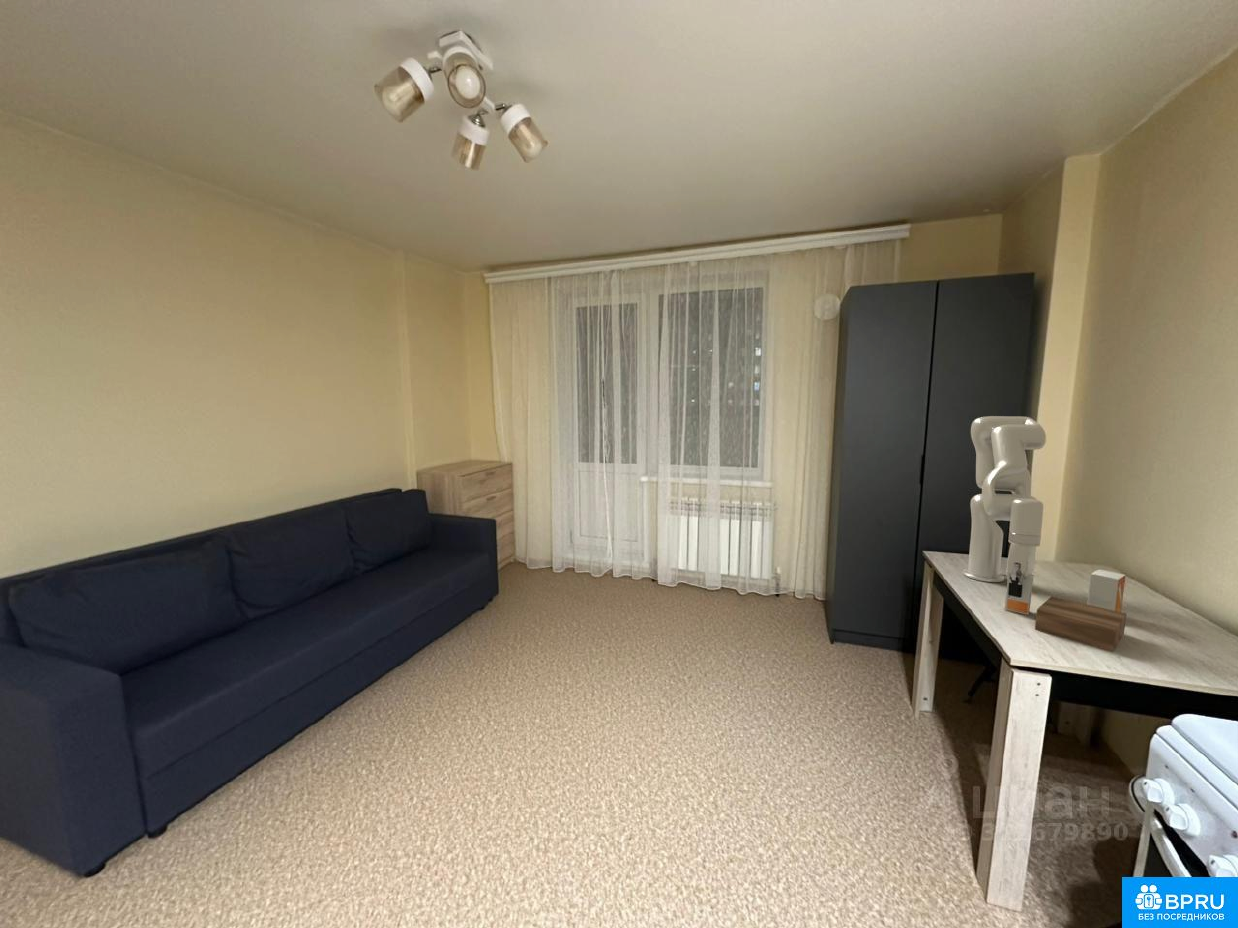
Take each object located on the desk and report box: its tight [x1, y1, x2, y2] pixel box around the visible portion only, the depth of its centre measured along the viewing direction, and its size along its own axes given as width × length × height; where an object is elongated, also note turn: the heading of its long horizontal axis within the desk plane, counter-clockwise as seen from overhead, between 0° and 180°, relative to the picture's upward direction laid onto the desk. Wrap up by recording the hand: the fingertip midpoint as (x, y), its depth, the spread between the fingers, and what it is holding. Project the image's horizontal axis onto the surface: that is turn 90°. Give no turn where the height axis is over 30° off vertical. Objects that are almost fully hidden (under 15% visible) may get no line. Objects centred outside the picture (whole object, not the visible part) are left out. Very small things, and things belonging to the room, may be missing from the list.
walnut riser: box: [1034, 595, 1127, 652], centre depth 138 cm, size 16×16×6 cm
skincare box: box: [1004, 573, 1035, 616], centre depth 152 cm, size 6×4×12 cm
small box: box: [1086, 568, 1127, 613], centre depth 148 cm, size 8×6×13 cm
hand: (1019, 592), depth 151 cm, fingers open, 9 cm apart
